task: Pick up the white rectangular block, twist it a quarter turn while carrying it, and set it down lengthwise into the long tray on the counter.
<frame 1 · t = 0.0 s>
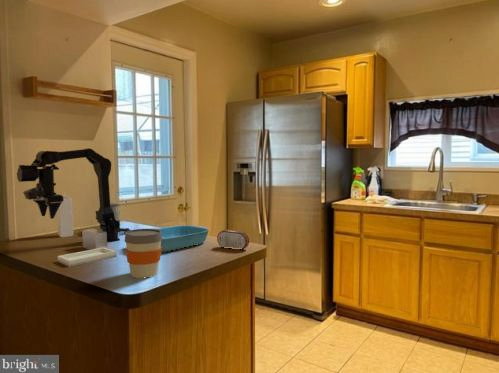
hand: (47, 217, 161), 15 cm above the table, tool pointing down, fingers open, 9 cm apart
tray: (87, 259, 151), on the table
milk: (65, 236, 193), on the table
casserole dish: (172, 246, 175), on the table
white rectangular block: (94, 248, 168), on the table
milk frother: (116, 232, 203), on the table
reusable coffee cup: (144, 274, 133), on the table
portable speaker: (232, 249, 169), on the table
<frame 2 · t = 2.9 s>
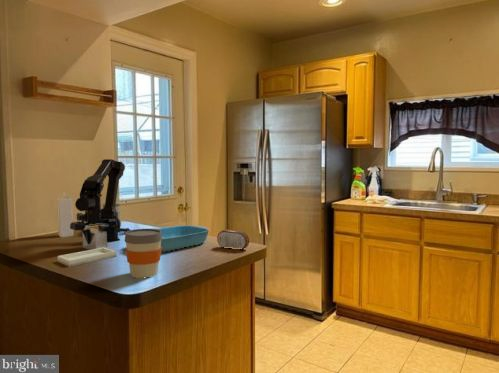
hand: (94, 243, 167), 3 cm above the table, tool pointing down, fingers closed on white rectangular block, 5 cm apart
white rectangular block: (94, 248, 168), on the table, touching gripper
everything else where it was.
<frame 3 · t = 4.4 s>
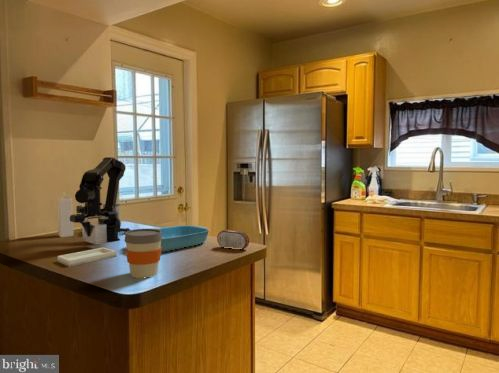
hand: (94, 235, 167), 6 cm above the table, tool pointing down, fingers closed on white rectangular block, 5 cm apart
white rectangular block: (94, 241, 167), point 3 cm above the table, touching gripper
everything else where it was.
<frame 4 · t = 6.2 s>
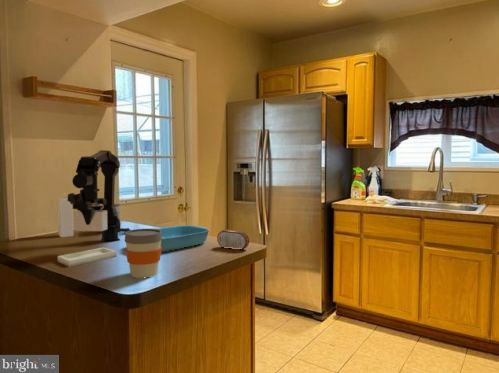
hand: (90, 223, 159), 12 cm above the table, tool pointing down, fingers closed on white rectangular block, 5 cm apart
white rectangular block: (91, 229, 160), point 10 cm above the table, touching gripper
everything else where it was.
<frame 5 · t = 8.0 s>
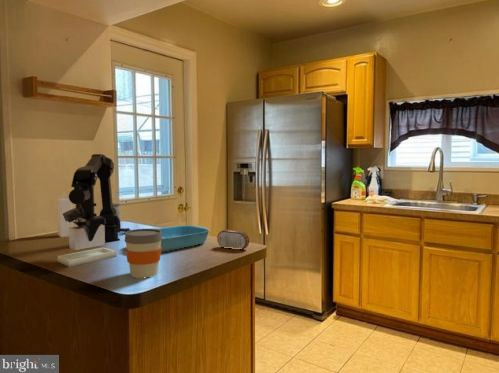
hand: (87, 240, 150), 8 cm above the table, tool pointing down, fingers closed on white rectangular block, 5 cm apart
white rectangular block: (87, 246, 151), point 5 cm above the table, touching gripper
everything else where it was.
when the fingers open (5 cm above the table, at t = 9.5 s): white rectangular block drops 1 cm, resting on tray.
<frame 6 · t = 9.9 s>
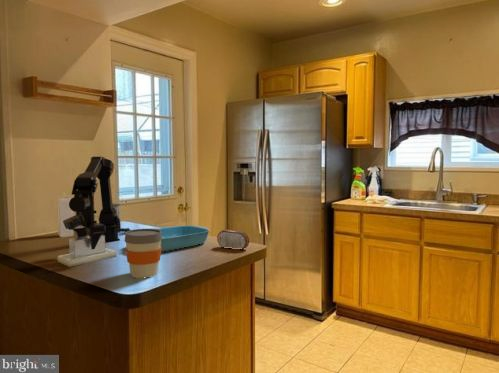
hand: (87, 247, 151), 5 cm above the table, tool pointing down, fingers open, 9 cm apart
white rectangular block: (87, 257, 151), point 1 cm above the table, touching tray
everything else where it was.
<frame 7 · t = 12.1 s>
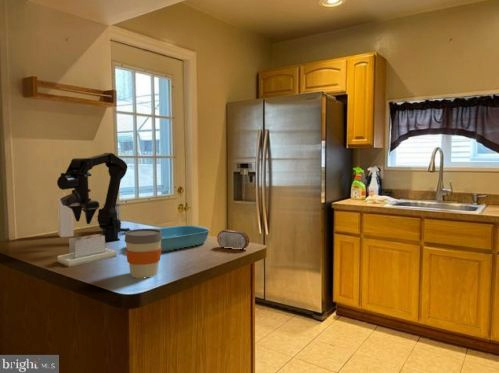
hand: (82, 222, 166), 12 cm above the table, tool pointing down, fingers open, 9 cm apart
nothing on the table moved.
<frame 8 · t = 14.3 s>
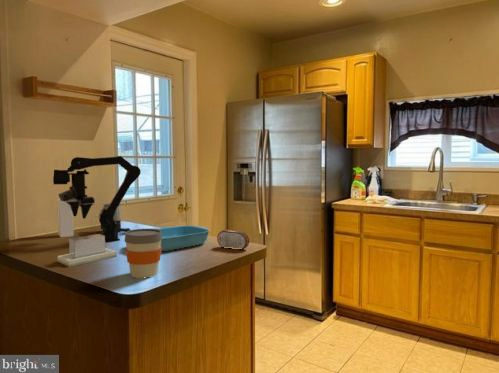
hand: (79, 217, 178), 12 cm above the table, tool pointing down, fingers open, 9 cm apart
nothing on the table moved.
at the end: white rectangular block 0.0 cm off-centre on the tray, point 0.8 cm above the tray's base; white rectangular block tilted 0°; the gripper is holding nothing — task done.
